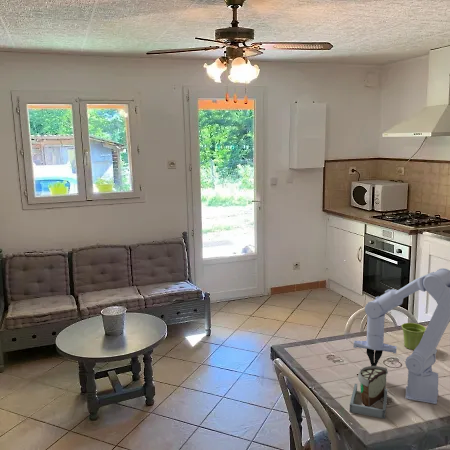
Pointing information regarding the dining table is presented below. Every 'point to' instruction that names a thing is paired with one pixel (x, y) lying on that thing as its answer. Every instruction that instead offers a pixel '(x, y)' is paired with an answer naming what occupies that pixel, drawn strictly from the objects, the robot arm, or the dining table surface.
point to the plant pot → (412, 334)
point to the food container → (372, 384)
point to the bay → (367, 410)
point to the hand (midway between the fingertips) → (373, 368)
